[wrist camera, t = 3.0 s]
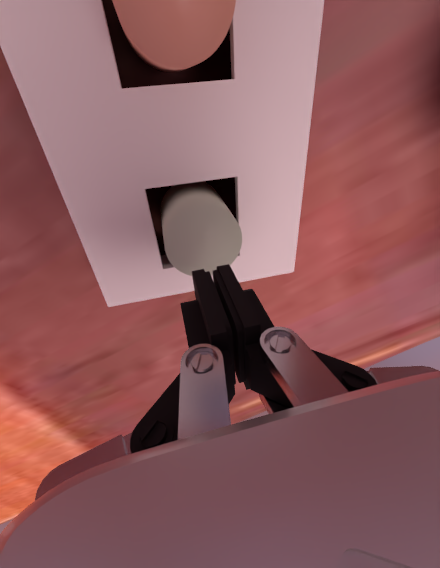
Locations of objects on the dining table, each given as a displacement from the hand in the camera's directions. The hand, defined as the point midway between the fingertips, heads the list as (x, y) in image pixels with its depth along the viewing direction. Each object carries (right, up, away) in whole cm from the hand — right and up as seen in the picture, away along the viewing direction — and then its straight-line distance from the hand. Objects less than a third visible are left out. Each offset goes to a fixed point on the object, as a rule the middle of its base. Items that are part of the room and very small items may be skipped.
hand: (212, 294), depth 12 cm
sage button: (-2, +6, +7) cm, 9 cm away
